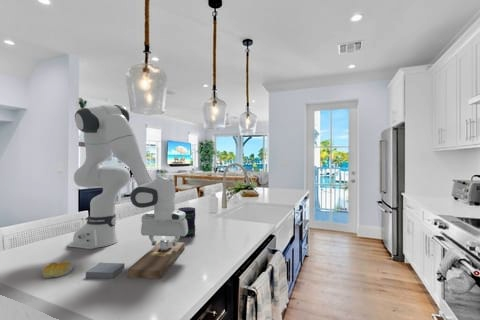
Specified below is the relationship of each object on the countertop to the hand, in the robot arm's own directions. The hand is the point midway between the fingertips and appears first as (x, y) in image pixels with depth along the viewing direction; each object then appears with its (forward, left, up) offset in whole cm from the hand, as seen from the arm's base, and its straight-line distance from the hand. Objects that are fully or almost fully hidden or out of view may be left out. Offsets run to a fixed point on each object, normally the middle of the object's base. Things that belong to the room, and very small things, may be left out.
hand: (164, 245), depth 108 cm
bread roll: (-34, -18, -5) cm, 39 cm away
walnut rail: (0, -5, -5) cm, 7 cm away
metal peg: (0, 0, -5) cm, 5 cm away
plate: (-16, -17, -5) cm, 24 cm away
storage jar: (+1, +31, -5) cm, 31 cm away
